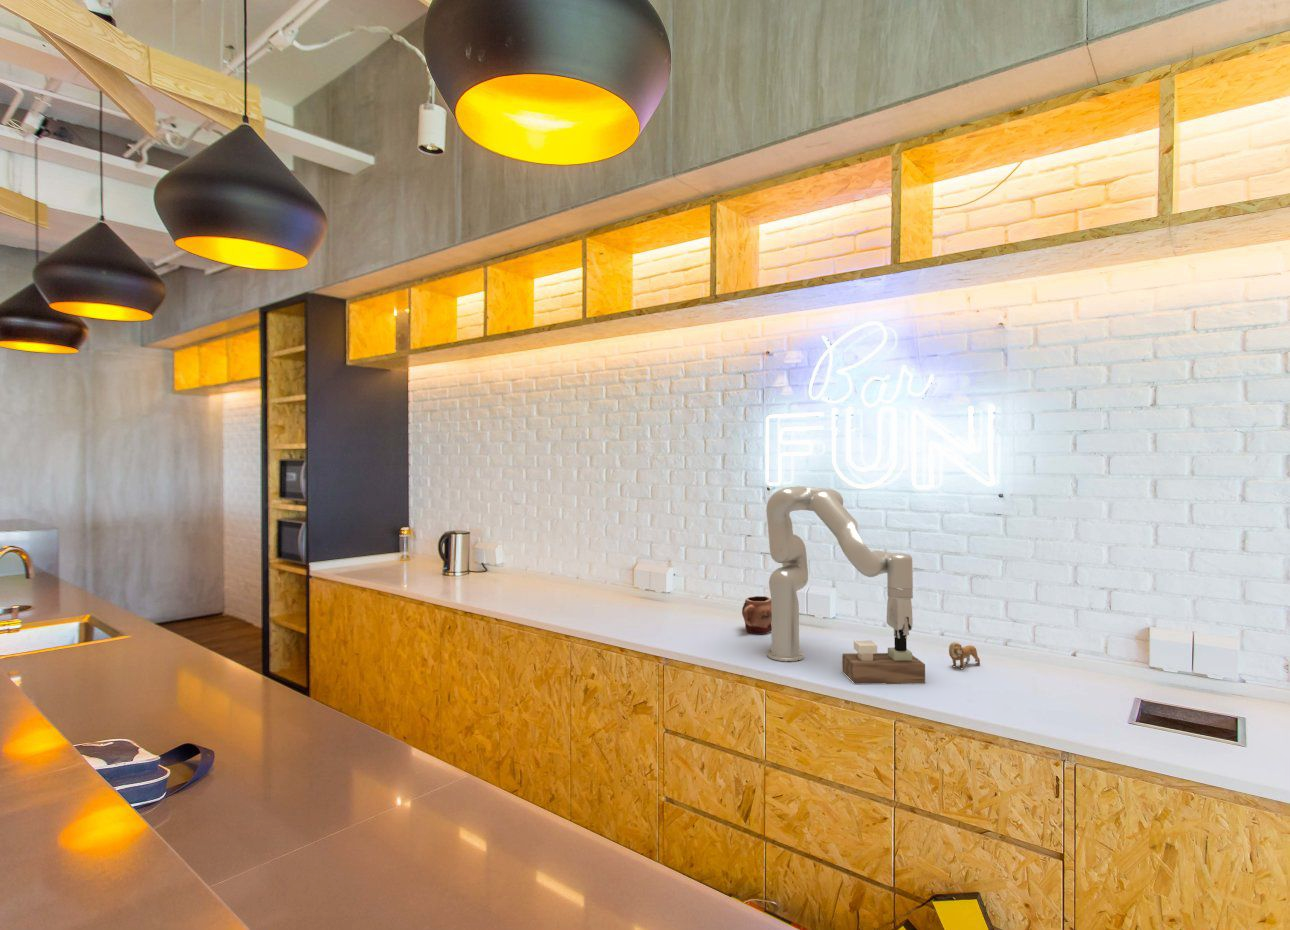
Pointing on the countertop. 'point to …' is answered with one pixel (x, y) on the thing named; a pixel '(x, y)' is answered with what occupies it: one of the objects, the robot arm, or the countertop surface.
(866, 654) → the cream block
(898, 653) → the pale green block
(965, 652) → the lion figurine
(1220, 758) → the countertop surface
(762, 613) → the decorative planter
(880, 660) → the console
